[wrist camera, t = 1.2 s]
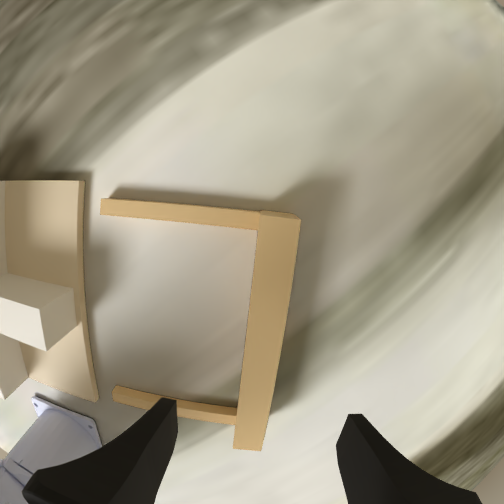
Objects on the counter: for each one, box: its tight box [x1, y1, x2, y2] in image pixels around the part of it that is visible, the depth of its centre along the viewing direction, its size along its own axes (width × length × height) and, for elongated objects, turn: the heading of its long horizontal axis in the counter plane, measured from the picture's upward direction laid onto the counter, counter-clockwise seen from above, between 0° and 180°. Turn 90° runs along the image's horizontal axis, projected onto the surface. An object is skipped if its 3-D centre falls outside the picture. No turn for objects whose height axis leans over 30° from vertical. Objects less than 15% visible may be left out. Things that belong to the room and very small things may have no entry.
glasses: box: [100, 198, 301, 451], centre depth 18 cm, size 12×16×4 cm
